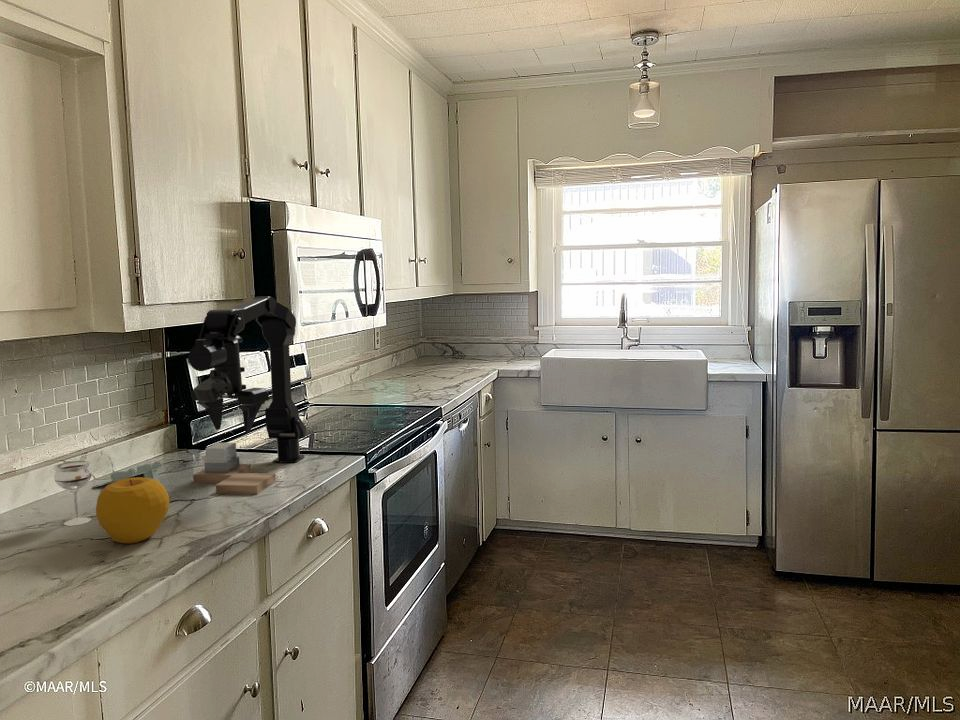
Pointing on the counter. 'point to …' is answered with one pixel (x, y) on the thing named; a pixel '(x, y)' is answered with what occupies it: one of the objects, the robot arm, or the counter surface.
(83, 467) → the wineglass
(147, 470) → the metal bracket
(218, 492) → the stand
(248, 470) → the stand
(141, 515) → the apple
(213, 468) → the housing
